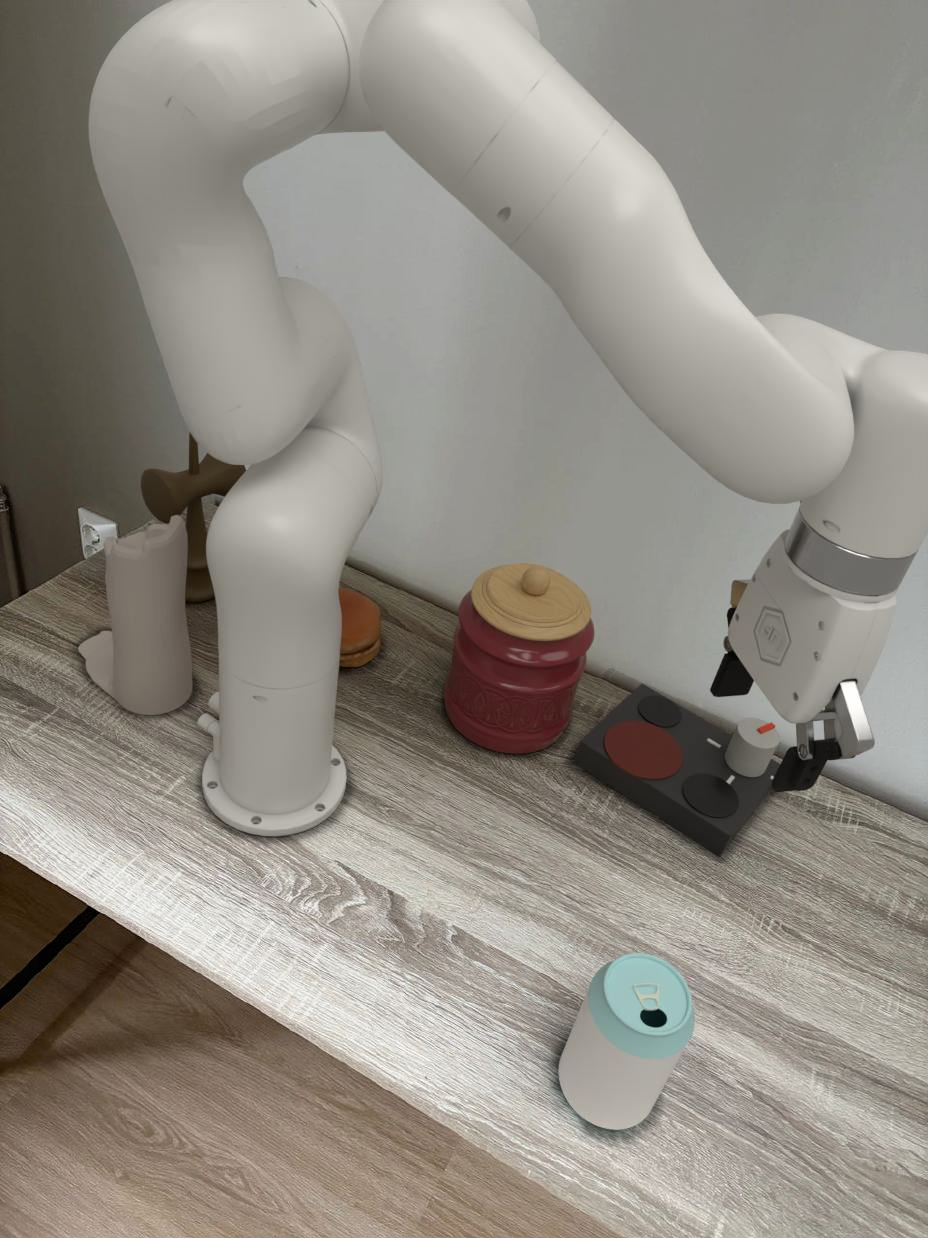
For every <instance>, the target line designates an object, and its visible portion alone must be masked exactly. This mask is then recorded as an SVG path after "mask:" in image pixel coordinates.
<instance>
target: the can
mask: <svg viewBox="0 0 928 1238" xmlns="http://www.w3.org/2000/svg"><path fill="white" fill-rule="evenodd" d="M695 1020H696V1019H695V1008H694V1005H693V997H692V993H691V990H690V987H689V985H688V983H687V981H686V979H685V978H684V976H683V975H682V974H681V972H680V971H678V969H676V968H675V967H674V966H673V965H672V964H670V963H669V962H668V961H666V960H664V959H663V958H661V957H659V956H656V955H654V954H650V953H645V952H630V953H626V954H625V953H624V954H622V955H621V956H619V957H617V958H615V959H614V960H611V961H609V962H608V963H606V964H604V965H602V966H601V967H600V968H599V969H598V970H597V971H596V972H595V974H594V975H593V977H592V979H591V981H590V984H589V985H588V989H587V991H586V993H585V995H584V998H583V1001H582V1002H581V1006H580V1008H579V1010H578V1014H577V1016H576V1018H575V1021H574V1024H573V1026H572V1028H571V1031H570V1033H569V1036H568V1038H567V1040H566V1043H565V1046H564V1048H563V1050H562V1052H561V1055H560V1059H559V1062H558V1080H559V1084H560V1089H561V1092H562V1093H563V1095H564V1097H565V1099H566V1101H567V1102H568V1104H569V1106H570V1107H571V1108H572V1110H574V1111H575V1112H576V1114H578V1115H579V1116H580V1118H582V1119H584V1120H586V1121H587V1122H589V1123H590V1124H592V1125H594V1126H597V1127H599V1128H602V1129H607V1130H614V1131H616V1130H617V1131H618V1130H626V1129H630V1128H633V1127H635V1126H637V1125H639V1124H640V1123H641V1122H643V1121H644V1120H645V1119H646V1118H647V1117H648V1116H649V1114H650V1113H651V1111H652V1110H653V1108H654V1106H655V1104H656V1102H657V1101H658V1098H659V1096H660V1095H661V1093H662V1092H663V1089H664V1088H665V1086H666V1084H667V1082H668V1080H669V1079H670V1076H671V1075H672V1073H673V1071H674V1069H675V1067H676V1065H677V1064H678V1062H679V1060H680V1059H681V1057H682V1055H683V1053H684V1051H685V1049H686V1047H687V1046H688V1043H689V1042H690V1040H691V1038H692V1036H693V1033H694V1029H695V1022H696V1021H695Z"/></svg>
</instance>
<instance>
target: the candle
mask: <svg viewBox="0 0 928 1238" xmlns="http://www.w3.org/2000/svg"><path fill="white" fill-rule="evenodd" d="M103 551H104V557H105V573H104V581H105V591H106V601H107V607H108V614H109V621H110V627H111V630H101V631H100V632H99V633H98V634H96V635H93V636H91V637H89V638H87V639H86V640H84V641H83V642H82V643H80V645H78V647H77V651H78V652H79V653H80V654H81V657H83V658H84V660H85V671H86V672H87V674H88V676H89V677H90V679H91V680H92V682H93V683H94V684H95V685H97V686H98V687H99V688H100V689H101V690H103V691H104V692H105V693H106V694H107V695H109V696H110V697H111V698H112V699H114V700H115V701H116V702H117V704H119V705H120V706H121V707H122V708H123V709H124V710H127V711H129V712H131V713H134V714H138V715H145V716H154V715H155V716H156V715H163V714H167V713H169V712H173V711H175V710H177V709H179V708H180V707H182V706H183V705H184V704H186V703H187V702H188V700H189V699H190V698H191V696H192V693H193V663H192V662H193V660H192V659H193V658H192V649H191V648H192V647H191V642H190V635H189V628H188V622H187V614H186V600H185V587H186V573H187V557H188V539H187V531H186V521H185V520H184V518H183V517H182V516H181V515H180V516H179V515H175V516H172V517H171V520H170V523H154V524H153V523H152V524H150V525H149V526H147V528H146V530H144V531H138V532H136V533H134V534H133V533H132V534H131V535H128V536H125V537H122V538H116V537H115V536H113V535H111V536H108V537H105V539H104V542H103Z"/></svg>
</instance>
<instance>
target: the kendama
mask: <svg viewBox="0 0 928 1238" xmlns="http://www.w3.org/2000/svg"><path fill="white" fill-rule="evenodd" d="M199 457H200V456H199V444H198V443H197V442H196V440H195V439H194V438H193V436H192V435H191V433H190V432H189V434H188V469H185V470H181V471H177V472H173V471H168V470H165V469H161V468H155V467H154V468H146V469H144V470H143V472H142V474H141V476H140V490H141V491H140V492H141V496H142V499H143V501H144V504H145V506H146V508H147V510H149V512H150V514H151V515H153V516H154V517H155V518H156V519H157V520H158V521H159V522H161V523H162V524H170V520H171V517H172V516H175V515H179V516H181V515H182V514H183V513H184V511H185V510H186V516H185V517H186V518H185V525H186V531H187V539H188V557H187V573H186V587H185V601H188V602H192V603H198V602H205V601H208V600H211V599H213V598H215V594H214V588H213V584H212V580H211V576H210V572H209V568H208V564H207V557H206V541H207V534H208V531H207V527H206V521H205V516H204V508H203V500H202V498H204V497H207V496H211V495H217V496H220V497H223V498H224V497H225V496H226V495H227V493H228V492H229V491H230V489H231V488H232V487H233V486H234V484H235V483H236V482H237V481H238V480H239V478H240V477H241V476H242V475H243V474H244V473H245V471H246V470H247V468H246V465H233V464H228V463H224V462H222V461H220V460H217V459H215V458H214V457H213V456H211V455H210V454H208V453H207V452H206V454H205V455H204V457H203V458H202V459H201V461H200V459H199Z"/></svg>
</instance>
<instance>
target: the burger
mask: <svg viewBox="0 0 928 1238" xmlns="http://www.w3.org/2000/svg"><path fill="white" fill-rule="evenodd" d="M338 594H339V601H340V607H341V615H342V630H341V644H340V661H339V668H340V667H342V668H349V667H351V668H359V667H361V666H364V665H366V664H368V663H369V662H371V661H372V660H374V659H375V658H376V656H377V655H378V653H379V651H380V649H381V644H382V638H381V632H382V613H381V609H380V608H379V606H378V604H377V603H375V602H374V601H373V600H372V599H371V598H370V597H368V596H366V595H364V594H362V593H360V592H357V591H356V590H352V589H348V588H343V587H339V590H338Z"/></svg>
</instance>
